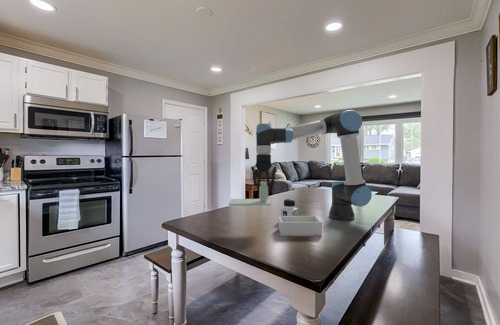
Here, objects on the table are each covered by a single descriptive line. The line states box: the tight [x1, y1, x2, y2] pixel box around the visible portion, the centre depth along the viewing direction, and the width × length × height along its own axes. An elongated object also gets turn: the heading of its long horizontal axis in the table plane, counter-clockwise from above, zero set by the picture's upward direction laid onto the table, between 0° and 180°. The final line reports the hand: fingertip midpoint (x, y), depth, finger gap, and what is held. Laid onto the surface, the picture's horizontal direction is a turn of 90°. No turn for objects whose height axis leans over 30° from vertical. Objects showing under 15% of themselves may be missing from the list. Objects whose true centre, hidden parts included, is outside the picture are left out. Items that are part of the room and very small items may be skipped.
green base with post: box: [228, 181, 272, 206], centre depth 127 cm, size 21×13×11 cm, turn 89°
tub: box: [278, 215, 323, 238], centre depth 125 cm, size 20×12×7 cm, turn 89°
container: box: [280, 198, 299, 216], centre depth 146 cm, size 8×8×13 cm
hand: (263, 198), depth 127 cm, fingers closed on green base with post, 3 cm apart
